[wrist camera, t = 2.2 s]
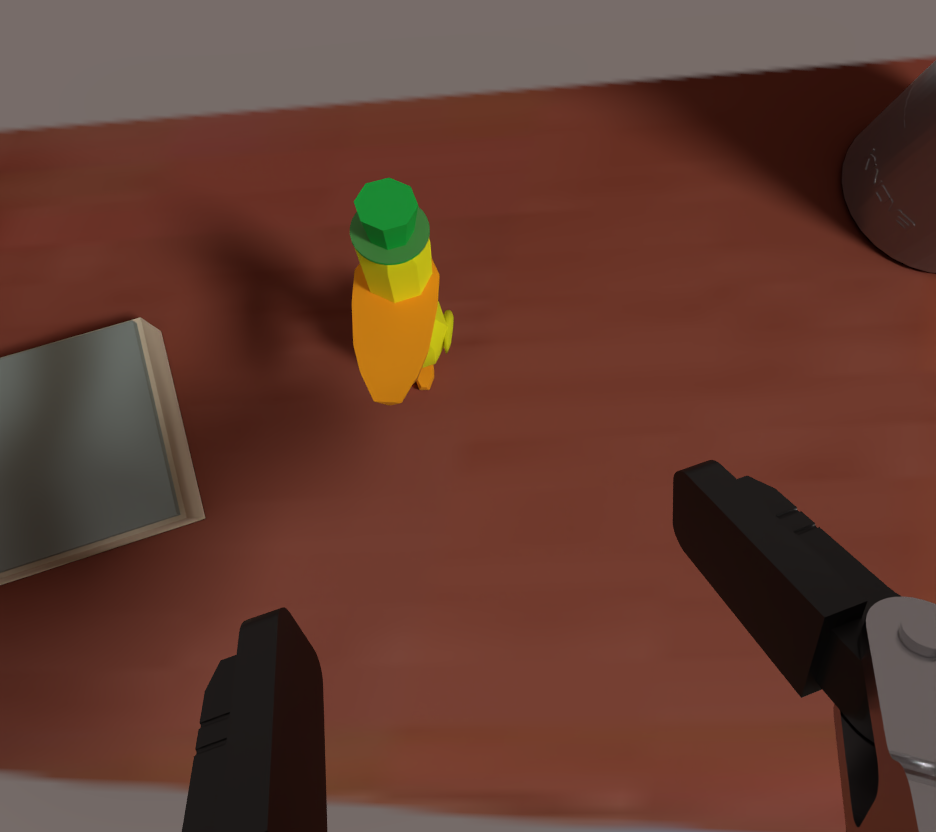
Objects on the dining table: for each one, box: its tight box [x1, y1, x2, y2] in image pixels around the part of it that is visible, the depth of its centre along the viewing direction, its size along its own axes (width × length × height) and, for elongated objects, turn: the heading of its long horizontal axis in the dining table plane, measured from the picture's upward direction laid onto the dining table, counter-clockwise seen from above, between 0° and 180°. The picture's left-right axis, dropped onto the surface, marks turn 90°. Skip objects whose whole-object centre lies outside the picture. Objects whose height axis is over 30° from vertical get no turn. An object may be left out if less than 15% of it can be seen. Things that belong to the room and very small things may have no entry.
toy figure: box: [350, 178, 453, 405], centre depth 19 cm, size 7×4×12 cm, turn 177°
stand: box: [0, 317, 206, 585], centre depth 23 cm, size 9×9×2 cm
